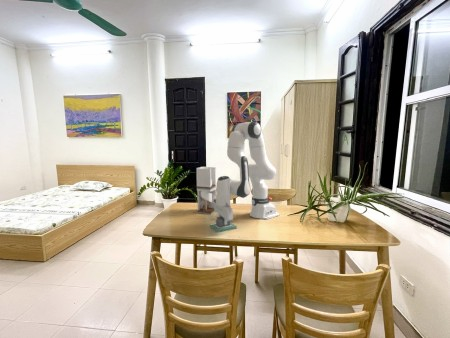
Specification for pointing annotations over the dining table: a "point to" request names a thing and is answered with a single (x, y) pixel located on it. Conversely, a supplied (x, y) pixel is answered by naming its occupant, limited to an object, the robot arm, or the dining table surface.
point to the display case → (206, 189)
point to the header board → (224, 228)
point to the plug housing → (221, 222)
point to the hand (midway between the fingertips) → (223, 222)
